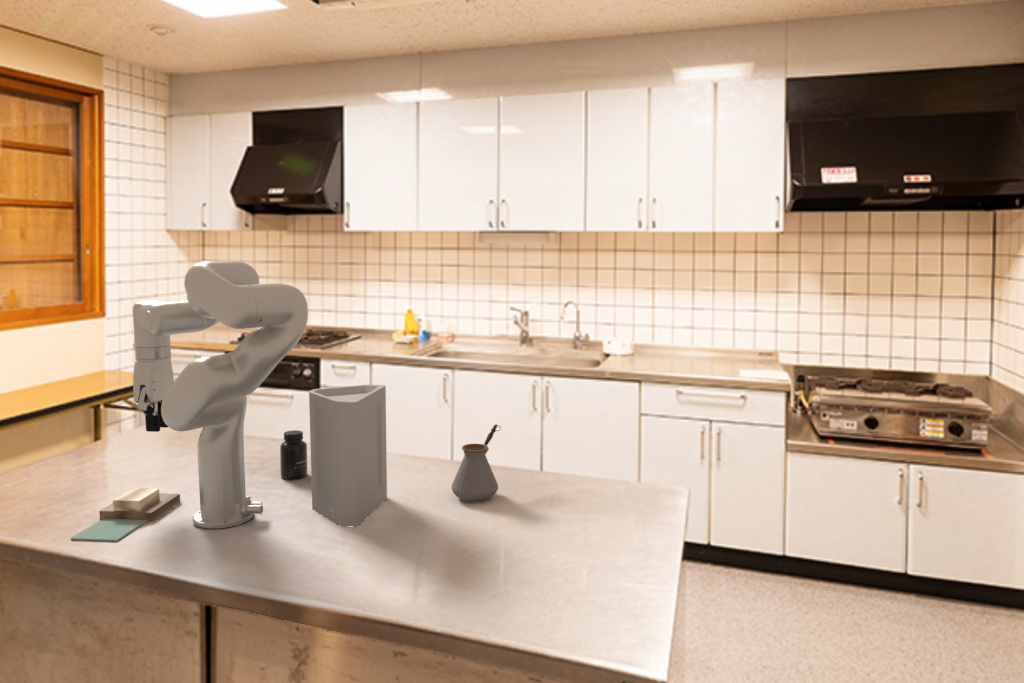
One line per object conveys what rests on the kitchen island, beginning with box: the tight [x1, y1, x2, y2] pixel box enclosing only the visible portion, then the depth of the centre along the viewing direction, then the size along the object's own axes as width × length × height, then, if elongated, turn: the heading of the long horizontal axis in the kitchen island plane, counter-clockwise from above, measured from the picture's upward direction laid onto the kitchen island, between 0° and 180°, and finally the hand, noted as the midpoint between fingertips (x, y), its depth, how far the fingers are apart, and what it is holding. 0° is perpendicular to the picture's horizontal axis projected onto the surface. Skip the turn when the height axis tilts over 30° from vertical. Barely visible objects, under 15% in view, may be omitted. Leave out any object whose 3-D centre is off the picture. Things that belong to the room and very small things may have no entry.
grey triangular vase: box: [308, 384, 388, 528], centre depth 164 cm, size 19×15×28 cm
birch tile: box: [112, 487, 160, 511], centre depth 162 cm, size 6×8×2 cm
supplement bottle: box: [279, 429, 308, 481], centre depth 188 cm, size 7×7×12 cm
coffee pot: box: [451, 424, 502, 504], centre depth 178 cm, size 21×12×15 cm, turn 161°
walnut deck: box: [98, 492, 181, 522], centre depth 163 cm, size 12×12×2 cm
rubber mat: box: [70, 518, 148, 542], centre depth 152 cm, size 10×11×1 cm
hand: (157, 428), depth 170 cm, fingers open, 3 cm apart
